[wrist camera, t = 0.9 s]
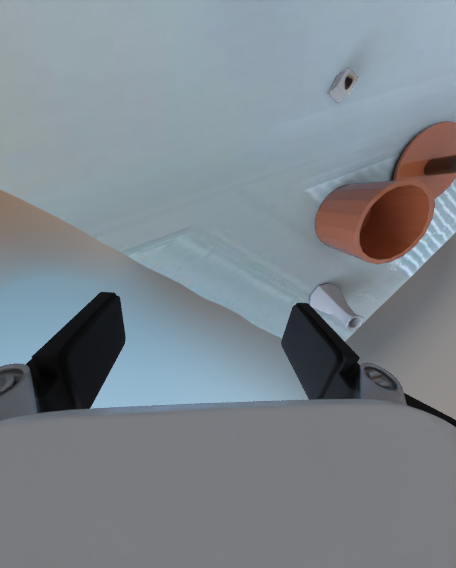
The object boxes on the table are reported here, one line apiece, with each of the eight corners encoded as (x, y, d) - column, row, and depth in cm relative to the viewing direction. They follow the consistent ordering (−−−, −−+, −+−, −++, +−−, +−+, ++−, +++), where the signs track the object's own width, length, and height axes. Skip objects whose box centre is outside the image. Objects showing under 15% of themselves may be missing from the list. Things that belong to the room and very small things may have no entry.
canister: (330, 176, 32) (384, 168, 22) (383, 192, 34) (452, 191, 25) (305, 240, 36) (340, 256, 27) (353, 251, 39) (401, 269, 29)
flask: (315, 280, 41) (347, 304, 32) (343, 284, 42) (381, 308, 33) (304, 308, 44) (330, 337, 35) (330, 310, 45) (362, 339, 36)
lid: (419, 113, 29) (465, 95, 24) (473, 137, 32) (526, 125, 26) (377, 196, 34) (408, 196, 29) (426, 211, 37) (463, 214, 31)
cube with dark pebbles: (347, 85, 27) (360, 75, 24) (337, 103, 27) (349, 95, 25) (336, 76, 26) (348, 65, 24) (327, 94, 27) (338, 85, 25)
